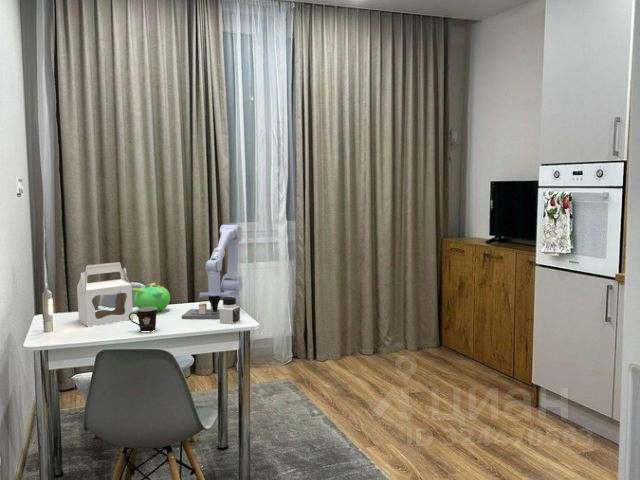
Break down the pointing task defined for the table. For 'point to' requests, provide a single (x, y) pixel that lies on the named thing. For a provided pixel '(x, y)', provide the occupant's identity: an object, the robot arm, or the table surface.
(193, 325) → the table surface
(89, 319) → the gable box
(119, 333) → the table surface
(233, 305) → the medicine bottle
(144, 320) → the coffee mug
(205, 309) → the breaker
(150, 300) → the green teapot
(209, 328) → the table surface
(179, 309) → the table surface
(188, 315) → the plate
